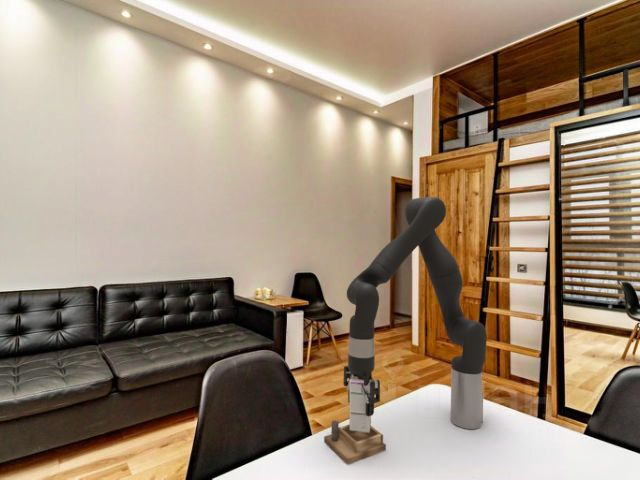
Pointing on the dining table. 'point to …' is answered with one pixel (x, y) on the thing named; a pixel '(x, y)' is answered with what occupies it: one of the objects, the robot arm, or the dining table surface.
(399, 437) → the dining table surface
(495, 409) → the dining table surface
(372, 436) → the board
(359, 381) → the syrup box
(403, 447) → the dining table surface
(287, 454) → the dining table surface
